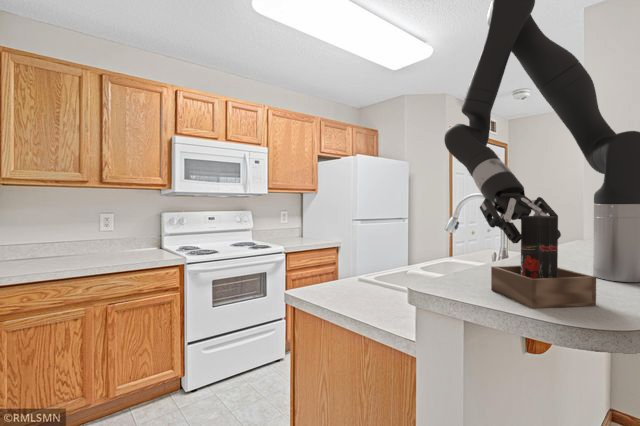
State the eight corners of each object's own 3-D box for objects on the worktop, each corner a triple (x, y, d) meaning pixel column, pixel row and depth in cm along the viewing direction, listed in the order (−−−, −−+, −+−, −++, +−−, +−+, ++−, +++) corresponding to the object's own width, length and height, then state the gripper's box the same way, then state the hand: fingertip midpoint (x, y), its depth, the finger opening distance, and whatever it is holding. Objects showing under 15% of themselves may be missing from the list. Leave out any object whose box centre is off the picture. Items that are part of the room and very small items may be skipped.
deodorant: (564, 298, 63) (565, 217, 62) (532, 299, 63) (532, 217, 63) (544, 290, 69) (544, 215, 68) (514, 290, 69) (514, 216, 68)
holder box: (545, 287, 72) (545, 264, 72) (595, 305, 60) (596, 277, 60) (491, 290, 71) (491, 266, 71) (531, 308, 59) (532, 280, 59)
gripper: (475, 170, 73) (515, 228, 62) (533, 170, 75) (582, 225, 64) (461, 196, 78) (495, 253, 67) (516, 194, 81) (557, 249, 70)
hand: (537, 239), depth 66 cm, fingers open, 8 cm apart
